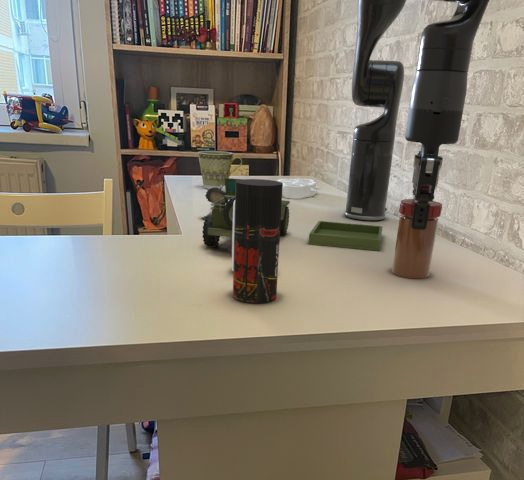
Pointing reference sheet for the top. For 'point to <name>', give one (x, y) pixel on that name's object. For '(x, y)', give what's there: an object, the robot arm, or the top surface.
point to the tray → (346, 235)
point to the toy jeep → (231, 216)
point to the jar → (414, 248)
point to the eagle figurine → (214, 197)
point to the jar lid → (408, 208)
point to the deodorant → (256, 239)
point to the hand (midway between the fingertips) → (417, 224)
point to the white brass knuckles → (298, 188)
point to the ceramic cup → (216, 167)
